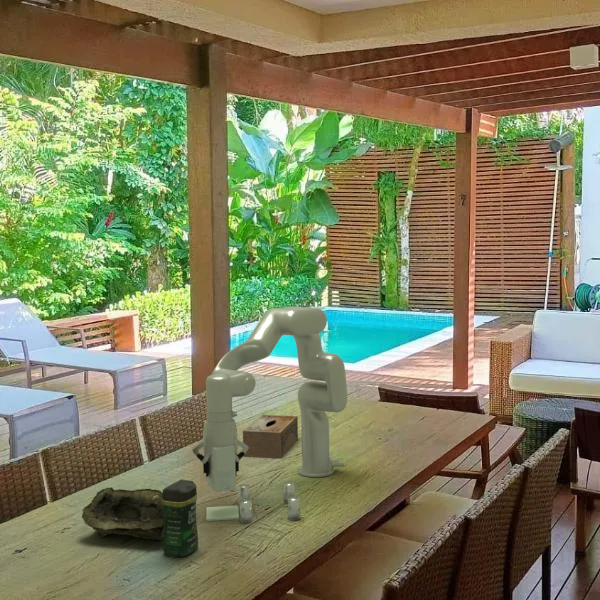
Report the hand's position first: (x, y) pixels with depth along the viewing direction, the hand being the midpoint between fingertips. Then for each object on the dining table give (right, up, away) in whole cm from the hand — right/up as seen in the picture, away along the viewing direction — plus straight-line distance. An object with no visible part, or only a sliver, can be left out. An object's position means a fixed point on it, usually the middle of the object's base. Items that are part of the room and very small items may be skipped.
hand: (221, 474), depth 243 cm
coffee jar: (-8, -15, -26) cm, 31 cm away
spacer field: (+14, -12, +3) cm, 18 cm away
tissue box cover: (+12, -6, +72) cm, 73 cm away
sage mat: (0, -12, +1) cm, 12 cm away
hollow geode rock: (-23, -15, -16) cm, 31 cm away
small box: (0, -4, 0) cm, 4 cm away
